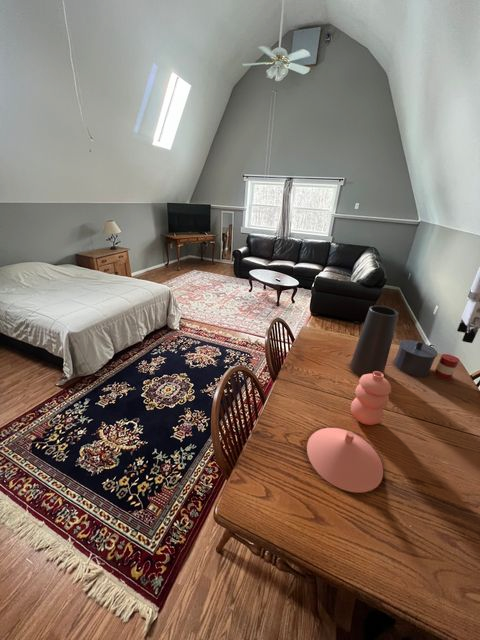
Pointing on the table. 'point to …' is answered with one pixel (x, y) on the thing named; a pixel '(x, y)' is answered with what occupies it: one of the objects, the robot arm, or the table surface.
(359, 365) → the vase
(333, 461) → the ceramic vessels
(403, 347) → the pot lid
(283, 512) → the table surface
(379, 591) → the table surface
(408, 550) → the table surface
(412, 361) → the pot
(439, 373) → the sauce can
